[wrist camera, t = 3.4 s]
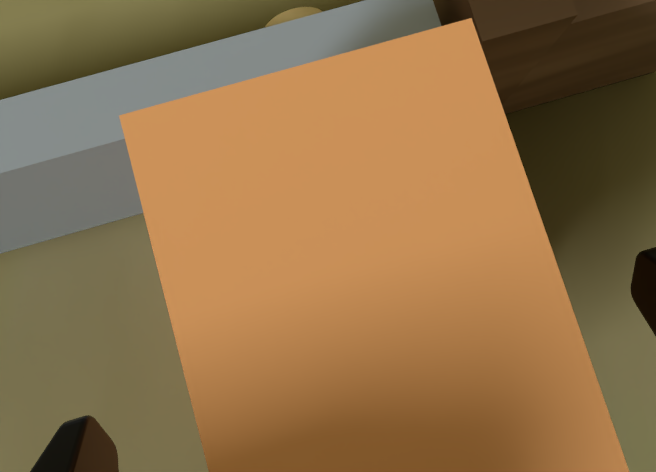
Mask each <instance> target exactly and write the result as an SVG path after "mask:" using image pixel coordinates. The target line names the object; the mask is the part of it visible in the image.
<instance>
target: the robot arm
mask: <svg viewBox="0 0 656 472" xmlns="http://www.w3.org/2000/svg"><path fill="white" fill-rule="evenodd" d="M631 294H632V297H633V300H634V302H635V304H636V305H637V307H638V309H639V310H640V312H641V313H642V315H643V317H644V318H645V320H646V321H647V323H648V325H649V326H650V328H651V329H652V331H653V333H654V334H655V336H656V247H654V248H651V249H647V250H644V251H642V252H640V253H639V254H638V255H637V257H636V261H635V266H634V272H633V277H632V282H631ZM30 472H119V469H118V455H117V450H116V447H115V445H114V443H113V441H112V440H111V438H110V437H109V436H108V435H107V433H106V432H105V431H104V430H103V428H102V427H101V426H100V424H99V423H98V422H97V421H96V419H95V418H94V417H92V416H89V415H88V416H83V417H79V418H76V419H73V420H69V421H67V422H65V423H63V424H62V425H61V426H60V428H59V429H58V430H57V432H56V433H55V435H54V436H53V438H52V439H51V441H50V442H49V444H48V445H47V447H46V449H45V450H44V452H43V453H42V455H41V456H40V458H39V459H38V461H37V462H36V464H35V465H34V467H33V468H32V470H31V471H30Z"/></svg>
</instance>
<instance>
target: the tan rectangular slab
mask: <svg viewBox="0 0 656 472" xmlns="http://www.w3.org/2000/svg"><path fill="white" fill-rule="evenodd" d="M119 118H120V122H121V126H122V129H123V133H124V137H125V141H126V145H127V149H128V153H129V157H130V161H131V165H132V169H133V173H134V177H135V181H136V185H137V189H138V193H139V197H140V201H141V205H142V209H143V213H144V217H145V220H146V224H147V228H148V232H149V236H150V240H151V244H152V248H153V252H154V256H155V260H156V264H157V268H158V272H159V276H160V280H161V284H162V288H163V292H164V296H165V300H166V304H167V308H168V311H169V315H170V319H171V323H172V327H173V331H174V335H175V339H176V343H177V347H178V351H179V355H180V359H181V363H182V367H183V371H184V375H185V379H186V383H187V387H188V391H189V395H190V399H191V402H192V406H193V410H194V414H195V418H196V422H197V426H198V430H199V434H200V438H201V442H202V446H203V450H204V454H205V458H206V462H207V466H208V470H209V472H629V470H628V467H627V464H626V461H625V458H624V455H623V452H622V449H621V447H620V444H619V441H618V438H617V435H616V432H615V429H614V426H613V424H612V421H611V418H610V415H609V412H608V409H607V406H606V403H605V401H604V398H603V395H602V392H601V389H600V386H599V383H598V380H597V378H596V375H595V372H594V369H593V366H592V363H591V360H590V357H589V354H588V352H587V349H586V346H585V343H584V340H583V337H582V334H581V331H580V329H579V326H578V323H577V320H576V317H575V314H574V311H573V308H572V306H571V303H570V300H569V297H568V294H567V291H566V288H565V285H564V283H563V280H562V277H561V274H560V271H559V268H558V265H557V262H556V260H555V257H554V254H553V251H552V248H551V245H550V242H549V239H548V237H547V234H546V231H545V228H544V225H543V222H542V219H541V216H540V214H539V211H538V208H537V205H536V202H535V199H534V196H533V193H532V190H531V188H530V185H529V182H528V179H527V176H526V173H525V170H524V167H523V165H522V162H521V159H520V156H519V153H518V150H517V147H516V144H515V142H514V139H513V136H512V133H511V130H510V127H509V124H508V121H507V119H506V116H505V113H504V110H503V107H502V104H501V101H500V98H499V96H498V93H497V90H496V87H495V84H494V81H493V78H492V75H491V73H490V70H489V67H488V64H487V61H486V58H485V55H484V52H483V50H482V47H481V44H480V41H479V38H478V35H477V32H476V29H475V26H474V24H473V21H472V18H469V19H466V20H462V21H459V22H455V23H451V24H448V25H444V26H440V27H437V28H433V29H430V30H426V31H422V32H419V33H415V34H412V35H408V36H404V37H401V38H397V39H393V40H390V41H386V42H383V43H379V44H375V45H372V46H368V47H365V48H361V49H357V50H354V51H350V52H346V53H343V54H339V55H336V56H332V57H328V58H325V59H321V60H317V61H314V62H310V63H307V64H303V65H299V66H296V67H292V68H289V69H285V70H281V71H278V72H274V73H270V74H267V75H263V76H260V77H256V78H252V79H249V80H245V81H242V82H238V83H234V84H231V85H227V86H223V87H220V88H216V89H213V90H209V91H205V92H202V93H198V94H195V95H191V96H187V97H184V98H180V99H176V100H173V101H169V102H166V103H162V104H158V105H155V106H151V107H148V108H144V109H140V110H137V111H133V112H129V113H126V114H122V115H119Z"/></svg>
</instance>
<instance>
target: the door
mask: <svg viewBox="0 0 656 472" xmlns="http://www.w3.org/2000/svg"><path fill="white" fill-rule="evenodd" d="M440 26H441V23H440V20H439V17H438V14H437V11H436V8H435V5H434V2H433V0H364V1H361V2H357V3H353V4H350V5H346V6H342V7H339V8H335V9H331V10H328V11H324V12H322V11H321V10H319V9H317V8H314V7H298V8H294V9H290V10H287V11H285V12H282V13H280V14H278V15H277V16H275V17H274V18H272V19H271V20H270V21H269V22H268V23H267V25H266V26H265V28H262V29H258V30H255V31H251V32H247V33H244V34H240V35H236V36H233V37H229V38H225V39H222V40H218V41H214V42H211V43H207V44H203V45H200V46H196V47H192V48H189V49H185V50H181V51H178V52H174V53H170V54H167V55H163V56H159V57H156V58H152V59H148V60H145V61H141V62H137V63H134V64H130V65H126V66H123V67H119V68H115V69H112V70H108V71H104V72H101V73H97V74H94V75H90V76H86V77H83V78H79V79H75V80H72V81H68V82H64V83H61V84H57V85H53V86H50V87H46V88H42V89H39V90H35V91H31V92H28V93H24V94H20V95H17V96H13V97H9V98H6V99H2V100H0V253H4V252H7V251H11V250H14V249H18V248H21V247H25V246H28V245H32V244H35V243H39V242H43V241H46V240H50V239H53V238H57V237H60V236H64V235H67V234H71V233H74V232H78V231H81V230H85V229H88V228H92V227H95V226H99V225H102V224H106V223H109V222H113V221H116V220H120V219H123V218H127V217H130V216H134V215H138V214H141V213H143V209H142V205H141V201H140V197H139V193H138V189H137V185H136V181H135V177H134V173H133V169H132V165H131V161H130V157H129V153H128V149H127V145H126V141H125V137H124V133H123V129H122V126H121V122H120V118H119V115H122V114H126V113H129V112H133V111H137V110H140V109H144V108H148V107H151V106H155V105H158V104H162V103H166V102H169V101H173V100H176V99H180V98H184V97H187V96H191V95H195V94H198V93H202V92H205V91H209V90H213V89H216V88H220V87H223V86H227V85H231V84H234V83H238V82H242V81H245V80H249V79H252V78H256V77H260V76H263V75H267V74H270V73H274V72H278V71H281V70H285V69H289V68H292V67H296V66H299V65H303V64H307V63H310V62H314V61H317V60H321V59H325V58H328V57H332V56H336V55H339V54H343V53H346V52H350V51H354V50H357V49H361V48H365V47H368V46H372V45H375V44H379V43H383V42H386V41H390V40H393V39H397V38H401V37H404V36H408V35H412V34H415V33H419V32H422V31H426V30H430V29H433V28H437V27H440Z"/></svg>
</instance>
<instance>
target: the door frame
mask: <svg viewBox="0 0 656 472" xmlns="http://www.w3.org/2000/svg"><path fill="white" fill-rule="evenodd" d="M434 5H435V8H436V11H437V14H438V17H439V20H440V23H441V26H444V25H448V24H451V23H455V22H459V21H462V20H466V19H469V18H472V21H473V24H474V26H475V29H476V32H477V35H478V38H479V41H480V44H481V47H482V50H483V52H484V55H485V58H486V61H487V64H488V67H489V70H490V73H491V75H492V78H493V81H494V84H495V87H496V90H497V93H498V96H499V98H500V101H501V104H502V107H503V110H504V113H505V114H507V113H511V112H515V111H518V110H522V109H525V108H529V107H532V106H536V105H539V104H543V103H546V102H550V101H553V100H557V99H560V98H564V97H567V96H571V95H574V94H578V93H581V92H585V91H588V90H592V89H595V88H599V87H602V86H606V85H609V84H613V83H616V82H620V81H623V80H627V79H631V78H634V77H638V76H641V75H645V74H648V73H652V72H655V71H656V0H434Z"/></svg>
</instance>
